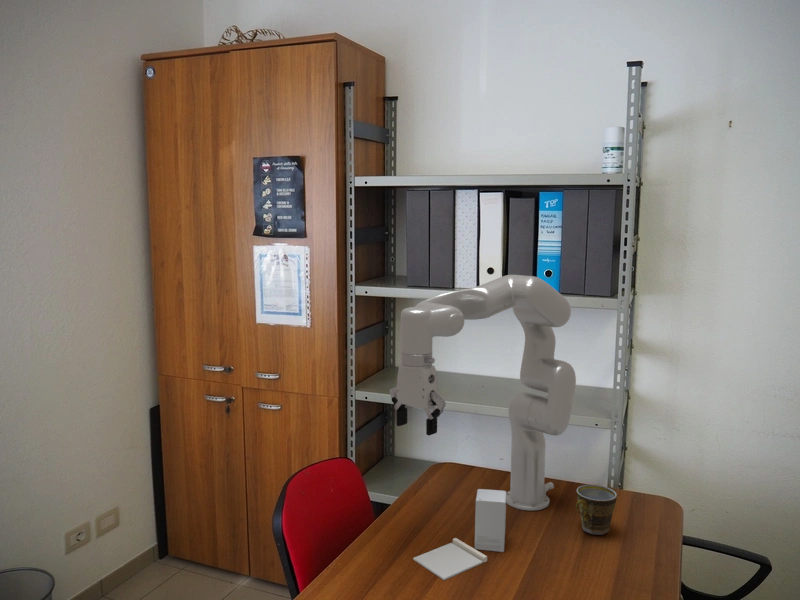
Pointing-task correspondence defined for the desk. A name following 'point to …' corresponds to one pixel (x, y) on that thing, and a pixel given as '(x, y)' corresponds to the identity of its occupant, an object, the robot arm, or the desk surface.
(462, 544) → the strip
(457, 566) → the mat
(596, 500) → the ceramic cup
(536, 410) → the robot arm
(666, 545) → the desk surface
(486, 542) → the supplement box
